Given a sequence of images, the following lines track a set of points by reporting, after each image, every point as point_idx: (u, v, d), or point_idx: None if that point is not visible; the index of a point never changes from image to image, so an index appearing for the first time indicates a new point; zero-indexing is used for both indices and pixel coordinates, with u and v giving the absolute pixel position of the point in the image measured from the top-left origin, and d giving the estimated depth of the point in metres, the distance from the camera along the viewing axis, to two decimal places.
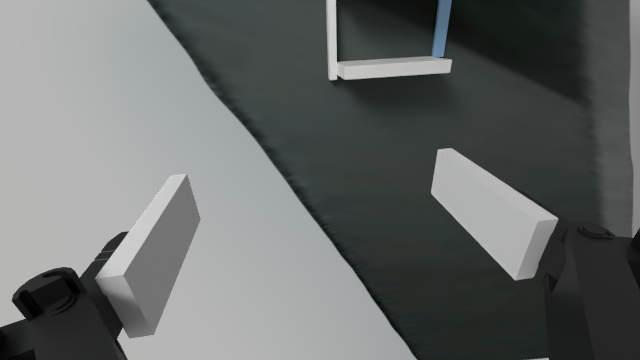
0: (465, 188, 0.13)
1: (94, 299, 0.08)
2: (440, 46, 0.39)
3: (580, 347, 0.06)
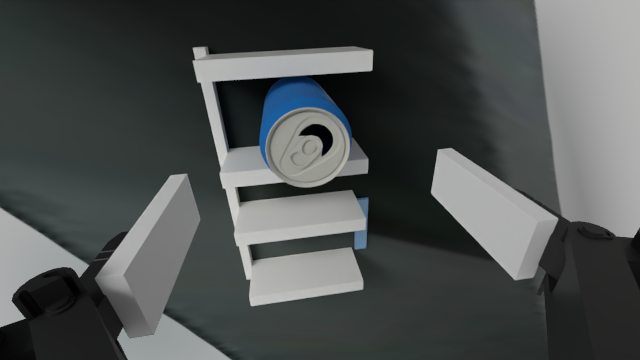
0: (466, 188, 0.13)
1: (94, 299, 0.08)
2: (361, 240, 0.38)
3: (580, 347, 0.06)
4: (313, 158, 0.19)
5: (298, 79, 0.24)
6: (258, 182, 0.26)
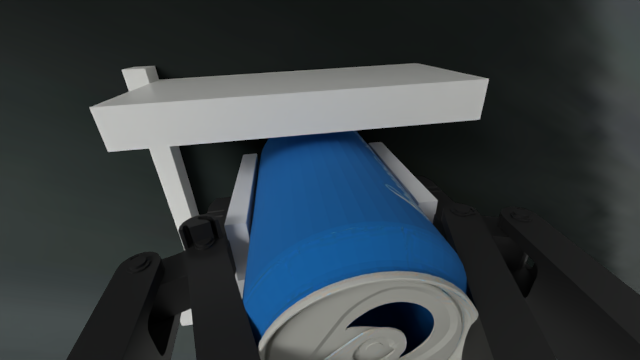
0: None
1: None
2: None
3: (473, 325, 0.07)
4: None
5: None
6: None
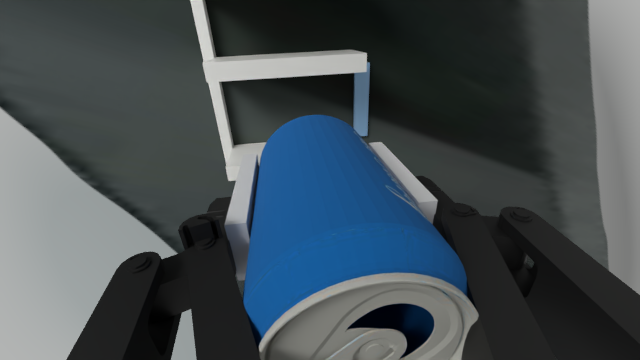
0: None
1: None
2: (361, 124, 0.33)
3: (473, 325, 0.07)
4: None
5: (323, 131, 0.13)
6: None
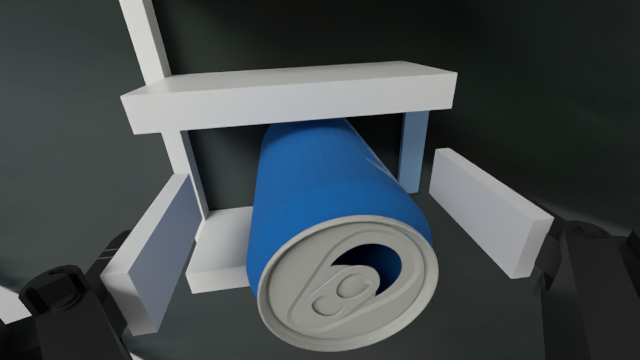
0: (463, 187, 0.13)
1: (99, 296, 0.08)
2: (411, 177, 0.21)
3: (576, 345, 0.06)
4: (358, 302, 0.09)
5: None
6: None
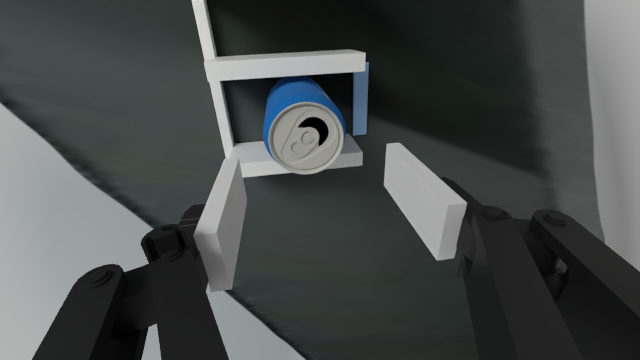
0: (405, 178, 0.14)
1: None
2: (360, 123, 0.33)
3: (499, 328, 0.07)
4: (311, 147, 0.21)
5: (298, 78, 0.27)
6: None
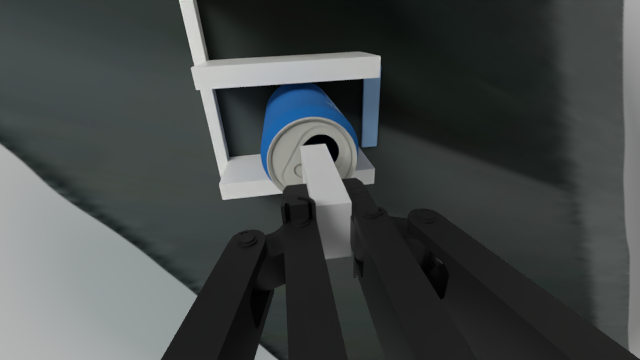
0: None
1: None
2: (370, 134, 0.30)
3: (397, 333, 0.07)
4: None
5: (301, 85, 0.23)
6: None
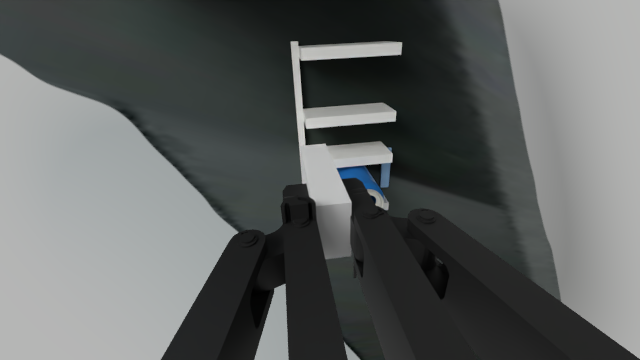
0: None
1: None
2: (385, 180, 0.54)
3: (397, 333, 0.07)
4: None
5: None
6: (327, 125, 0.41)
